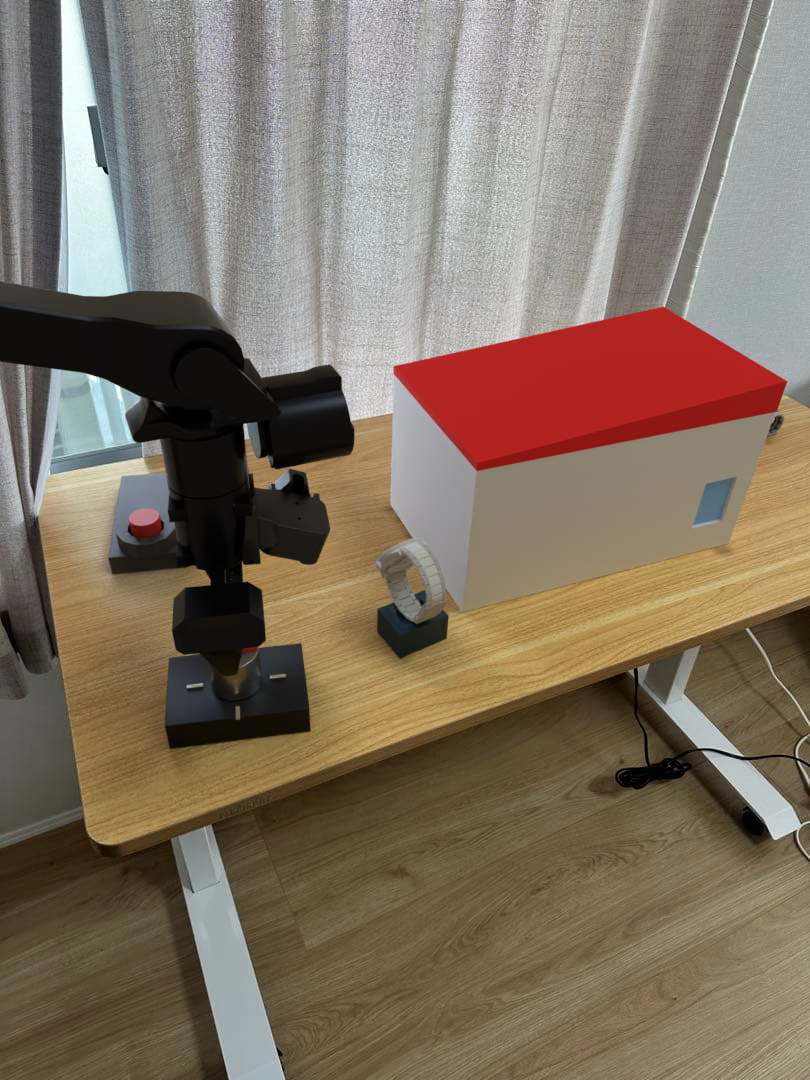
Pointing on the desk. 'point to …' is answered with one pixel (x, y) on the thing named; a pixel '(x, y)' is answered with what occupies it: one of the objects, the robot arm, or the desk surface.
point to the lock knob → (239, 677)
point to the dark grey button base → (142, 551)
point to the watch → (412, 599)
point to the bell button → (145, 523)
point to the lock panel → (216, 720)
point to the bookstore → (576, 452)
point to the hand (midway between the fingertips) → (229, 633)
